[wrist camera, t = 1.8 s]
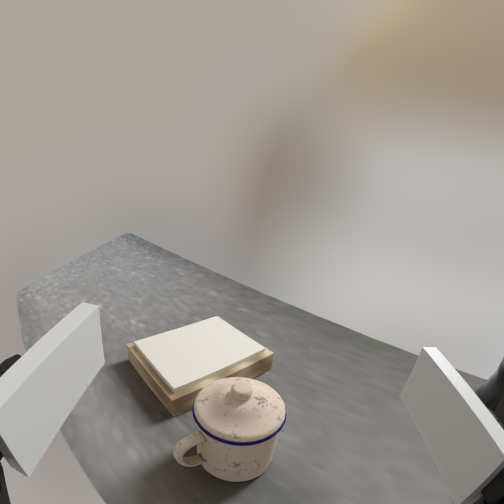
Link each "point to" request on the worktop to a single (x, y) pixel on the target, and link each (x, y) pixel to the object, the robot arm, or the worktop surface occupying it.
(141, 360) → the oak tea stand
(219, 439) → the teacup with lid
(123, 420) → the worktop surface
